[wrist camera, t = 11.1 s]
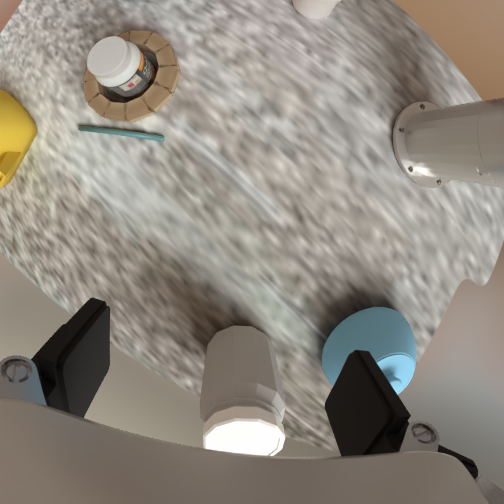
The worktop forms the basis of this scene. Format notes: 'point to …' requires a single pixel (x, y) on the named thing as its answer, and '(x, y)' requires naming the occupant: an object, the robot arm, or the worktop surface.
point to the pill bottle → (121, 67)
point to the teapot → (13, 136)
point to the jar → (242, 394)
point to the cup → (315, 8)
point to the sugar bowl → (373, 345)
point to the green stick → (121, 132)
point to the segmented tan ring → (152, 97)
